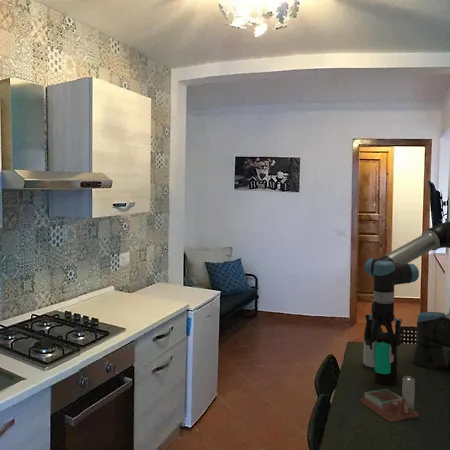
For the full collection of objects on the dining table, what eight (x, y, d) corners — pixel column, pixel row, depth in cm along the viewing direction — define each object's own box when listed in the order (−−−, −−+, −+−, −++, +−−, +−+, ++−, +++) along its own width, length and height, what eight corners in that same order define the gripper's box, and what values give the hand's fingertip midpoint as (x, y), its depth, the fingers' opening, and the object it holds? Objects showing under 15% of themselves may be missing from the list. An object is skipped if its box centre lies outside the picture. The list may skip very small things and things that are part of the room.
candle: (382, 375, 182) (383, 344, 181) (371, 369, 188) (371, 340, 186) (394, 372, 185) (394, 341, 184) (382, 367, 190) (382, 337, 189)
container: (398, 387, 191) (400, 338, 189) (375, 385, 193) (376, 336, 191) (395, 378, 199) (397, 331, 198) (373, 376, 201) (374, 330, 199)
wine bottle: (381, 371, 206) (384, 303, 204) (362, 369, 209) (364, 301, 207) (382, 365, 214) (384, 299, 212) (363, 363, 217) (365, 297, 214)
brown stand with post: (387, 397, 181) (389, 362, 180) (418, 416, 166) (419, 379, 165) (361, 402, 177) (362, 366, 176) (389, 422, 162) (391, 383, 161)
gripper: (356, 299, 187) (355, 357, 189) (405, 307, 175) (403, 368, 177) (364, 296, 193) (363, 352, 195) (412, 303, 181) (410, 362, 183)
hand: (382, 359), depth 186 cm, fingers closed on candle, 6 cm apart
